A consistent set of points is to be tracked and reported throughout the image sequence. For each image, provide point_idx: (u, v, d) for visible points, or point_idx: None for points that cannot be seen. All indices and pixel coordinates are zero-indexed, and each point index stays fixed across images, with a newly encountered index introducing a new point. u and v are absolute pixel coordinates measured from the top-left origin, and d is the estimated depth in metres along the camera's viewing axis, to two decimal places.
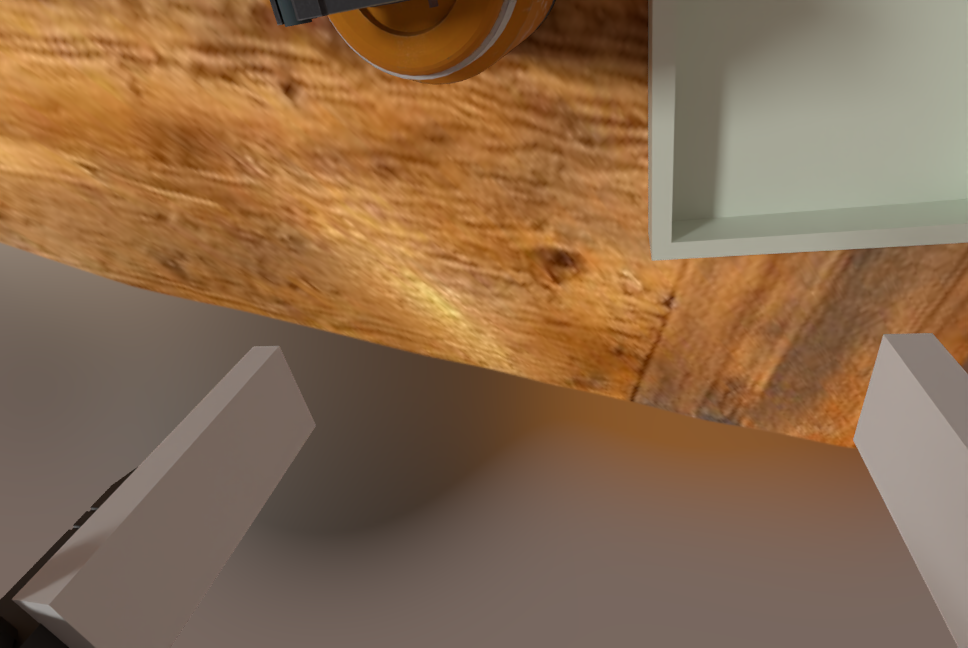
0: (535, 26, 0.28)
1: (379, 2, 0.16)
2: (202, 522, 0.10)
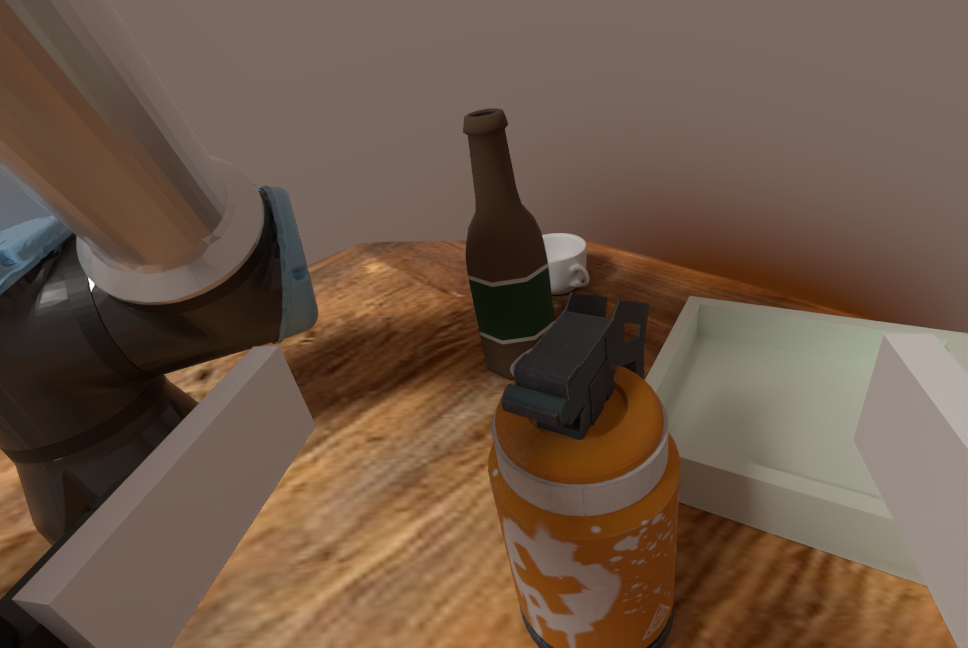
0: None
1: (596, 341, 0.21)
2: (202, 522, 0.10)
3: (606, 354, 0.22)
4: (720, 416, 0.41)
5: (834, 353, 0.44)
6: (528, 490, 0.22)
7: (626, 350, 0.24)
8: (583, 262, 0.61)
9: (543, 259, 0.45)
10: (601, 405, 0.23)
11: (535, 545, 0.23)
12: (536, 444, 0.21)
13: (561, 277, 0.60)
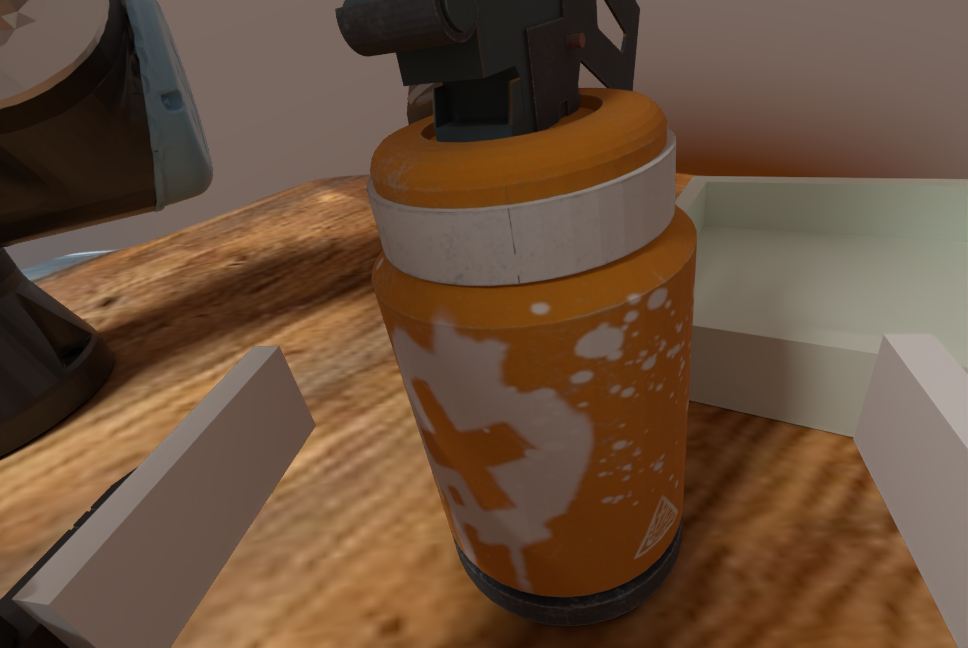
0: None
1: None
2: (202, 522, 0.10)
3: (561, 3, 0.12)
4: (738, 300, 0.31)
5: (882, 229, 0.34)
6: (415, 247, 0.12)
7: (601, 50, 0.14)
8: None
9: None
10: (554, 108, 0.12)
11: (437, 365, 0.13)
12: (427, 151, 0.11)
13: None
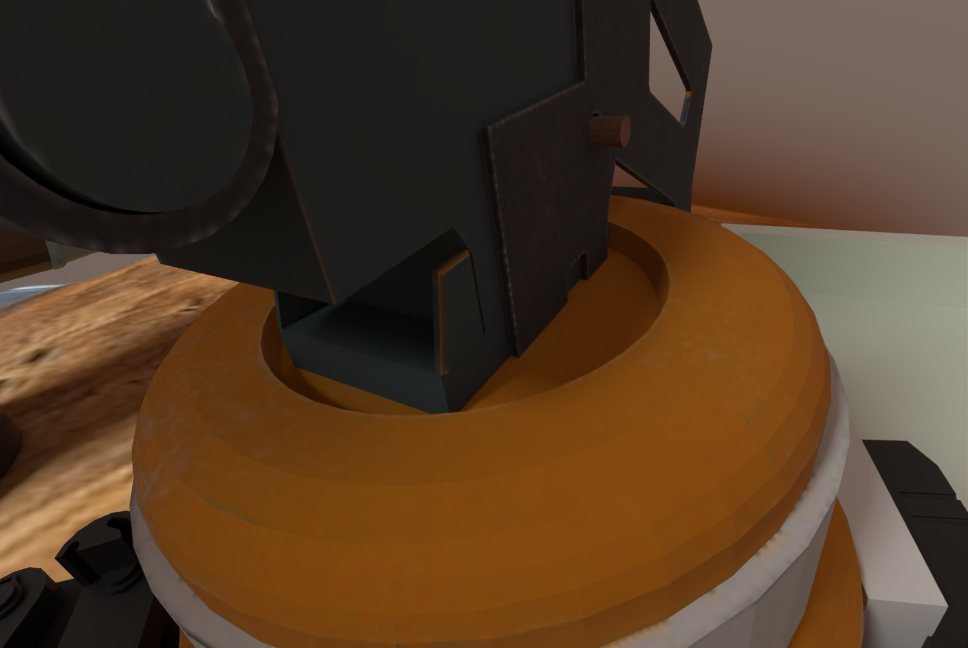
0: None
1: None
2: None
3: (580, 48, 0.05)
4: None
5: (966, 300, 0.27)
6: None
7: (652, 131, 0.07)
8: None
9: None
10: (558, 281, 0.06)
11: None
12: (221, 434, 0.04)
13: None
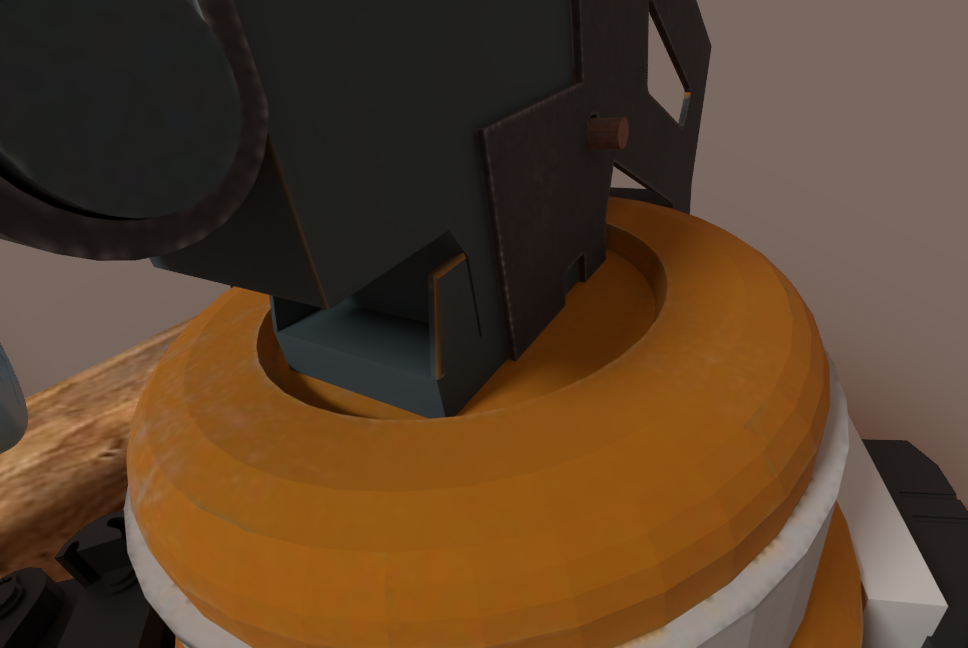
0: None
1: None
2: None
3: (577, 49, 0.05)
4: None
5: None
6: None
7: (651, 132, 0.07)
8: None
9: None
10: (556, 284, 0.05)
11: None
12: (215, 439, 0.04)
13: None
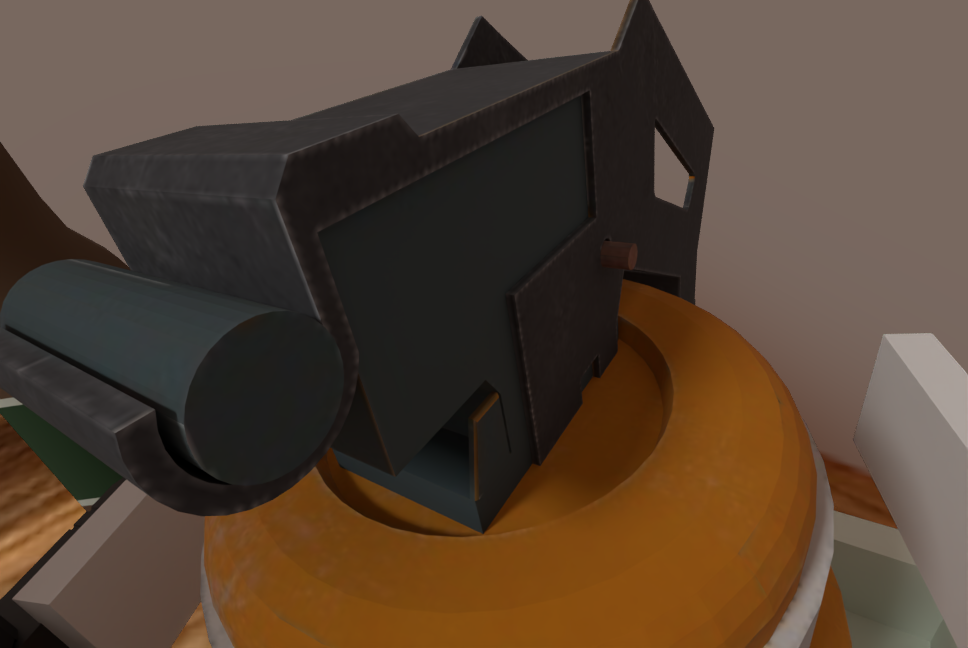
0: None
1: (542, 83, 0.05)
2: (202, 522, 0.10)
3: (591, 192, 0.06)
4: None
5: None
6: None
7: (658, 227, 0.08)
8: None
9: None
10: (574, 390, 0.06)
11: None
12: (286, 549, 0.05)
13: None
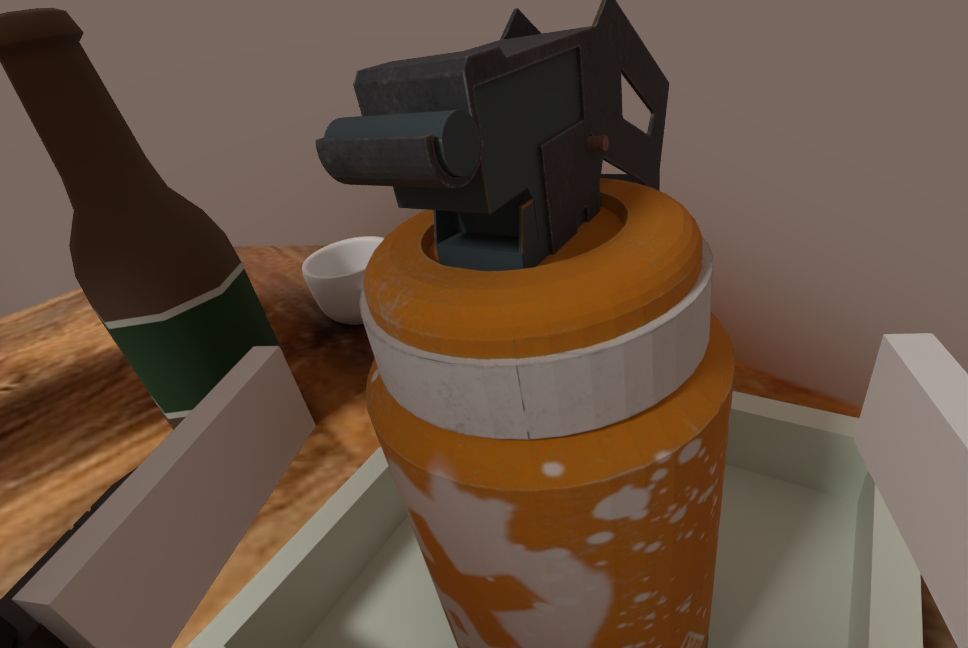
0: None
1: (555, 39, 0.09)
2: (202, 522, 0.10)
3: (581, 104, 0.10)
4: None
5: None
6: (411, 387, 0.10)
7: (626, 140, 0.13)
8: None
9: (204, 282, 0.27)
10: (572, 220, 0.11)
11: (436, 510, 0.11)
12: (424, 282, 0.10)
13: (349, 300, 0.41)
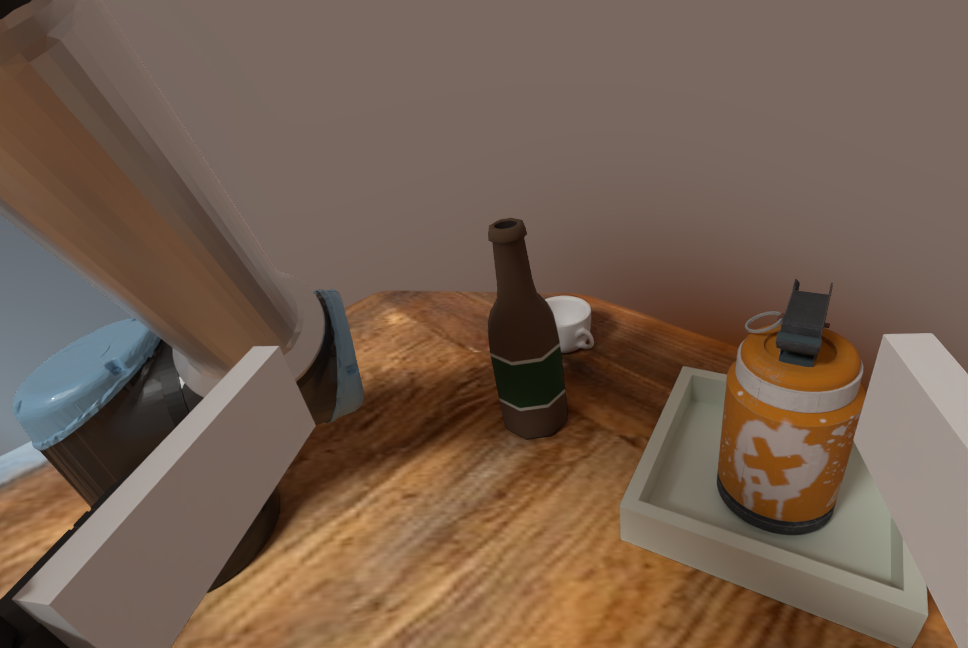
0: None
1: (826, 307, 0.35)
2: (202, 521, 0.10)
3: (824, 316, 0.36)
4: (709, 480, 0.48)
5: None
6: (778, 398, 0.36)
7: None
8: (589, 326, 0.68)
9: (556, 340, 0.52)
10: None
11: (776, 434, 0.37)
12: (785, 369, 0.36)
13: (569, 339, 0.67)
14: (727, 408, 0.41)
